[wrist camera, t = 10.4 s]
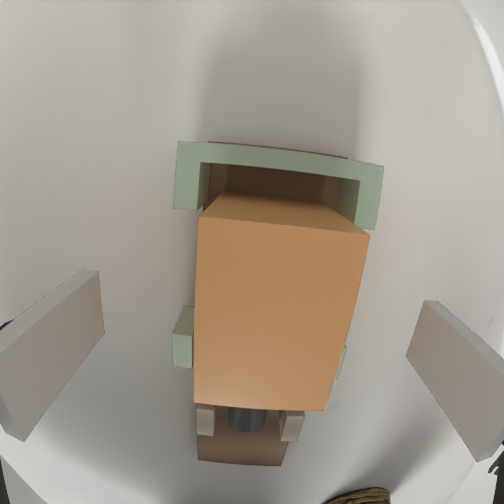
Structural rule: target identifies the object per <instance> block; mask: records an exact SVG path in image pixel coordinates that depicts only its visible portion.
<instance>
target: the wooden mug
mask: <svg viewBox="0 0 504 504" xmlns="http://www.w3.org/2000/svg"><path fill="white" fill-rule="evenodd" d="M325 504H391V502H390V496H389V492H388V491H387V490H385V489H382V488H370V489H363V490H358V491H354V492H351V493H348V494H345V495H341V496H339V497H336V498H334V499H332V500H330V501H328V502H326V503H325Z"/></svg>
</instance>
